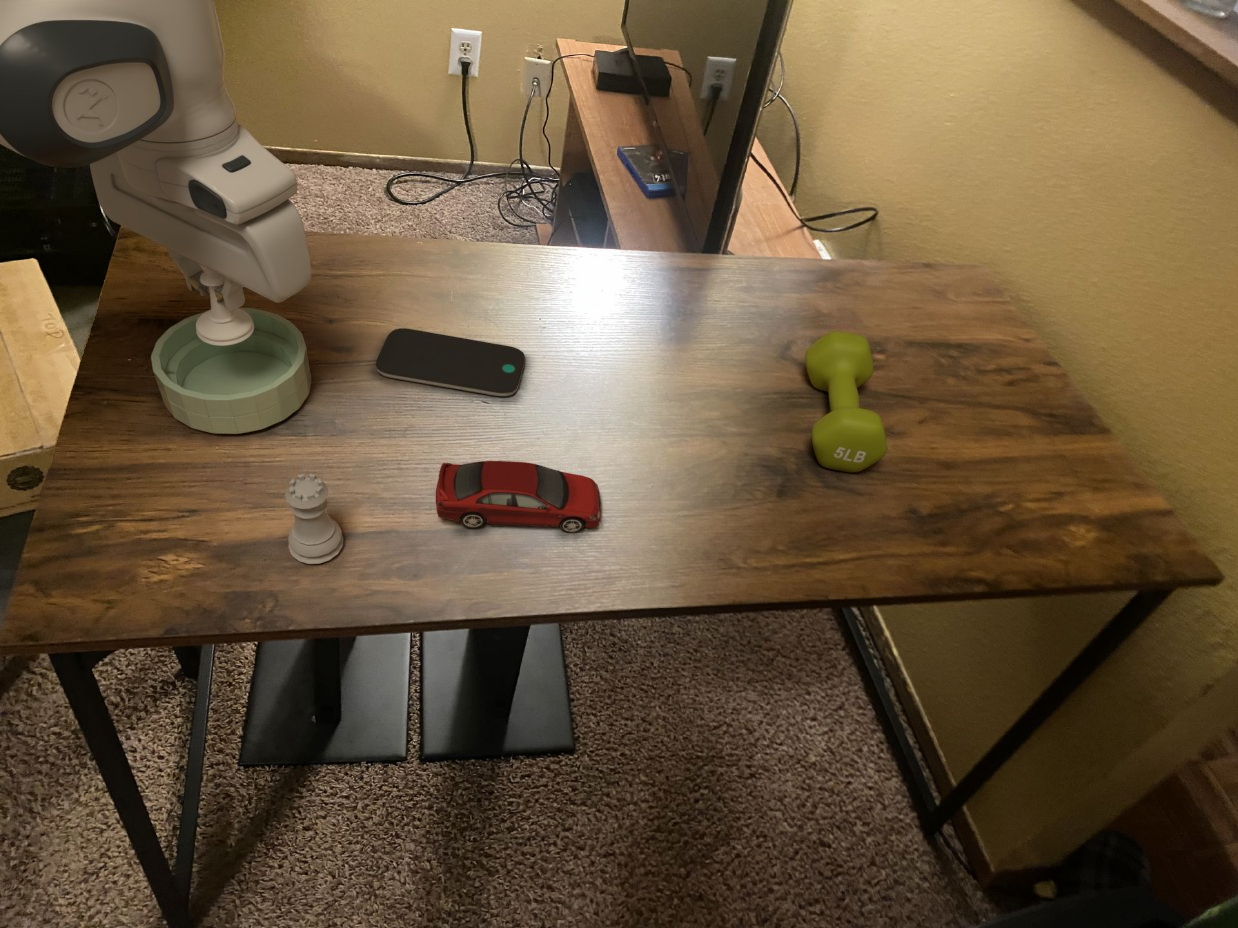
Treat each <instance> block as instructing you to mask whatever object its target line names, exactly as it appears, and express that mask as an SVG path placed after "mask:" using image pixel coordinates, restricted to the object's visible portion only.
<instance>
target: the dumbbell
mask: <svg viewBox="0 0 1238 928" xmlns="http://www.w3.org/2000/svg"><path fill="white" fill-rule="evenodd" d="M873 359H874V358H873V353H872V350H871V345H870V343H869V340H868V339H867V338H866V337H865V336H863V335H861V334H857V333H853V332H848V331H847V332H846V331H841V330H839V331H838V330H834V331H830V332H827V333H826V334H824V335H823V336H821V337H819V338H818V339H817V340H816V341H815V342H814V343H812V344H810V346H808V348H807V349H806V350H805V353H804V362H805V363H804V364H805V368H806V372H807V376H808V379H809V381H810V383H811V385H812V386H813V388H815V389H817V390H819V391H823V392H827V393H828V402H829V409H830V411H829V413H827V414H825V415H824V416H823V417H821V418H820V419H819V420H817V422H815V423H814V424H813V426H812V428H811V432H810V433H811V444H812V448H813V451H814V454H815V457H816V460H817V462H818V464H819V465H820V466H821V467H823V468H826V469H829V470H833V471H834V470H835V471H839V472H846V473H859V472H862V471H864V470H865V469H867V468H869V467H871V466H872V465H874V464H876V463H877V462H879V461H880V460H881V459H883V458H884V457H885V456H886V454H887V453H888V441H887V434H886V430H885V426H884V423H883V420H882V417H881V415H879V414H878V413H877V412H875V411H873V410H870V409H866V408H861V407H860V396H859V391H858V389H859V388H860V387H861V386H862V385H863V384H865V383H866V382H868V381H869V380H870V379H871V378H872V377H873V375H874V371H875V368H874V360H873Z"/></svg>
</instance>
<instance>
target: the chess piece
mask: <svg viewBox="0 0 1238 928" xmlns="http://www.w3.org/2000/svg"><path fill="white" fill-rule="evenodd" d="M199 265H200V264H199ZM200 266H201V268H202V270H203V271H204V273H202V274H201V276H200V282H201V283H202V284H203V285H206V286H209V291H210V292H209V298H210V309H208V310H206V311H207V312H206V311H204V312H205V313H204V314H202V315H201V316H200V317H199V318H198V320H197V322H196V333H197V335H198V337H199V338H200V339H201V340H202V341H204V342H206V343H208V344H212V345H218V346H226V345H233V344H237V343H239V342H242V341H244V340H245V339H247V338H248V337H249V336H250V335H251V334H252V333H253V331H254V323H253V321H252V318H251V316H250V315H249V314H248V313H247V312H245V311H243V310H241V309H236V310H234V311H231V310H229V309H227V308H225V307H223V306H221V305H219V304H218V303H217V297H216V295H215V291H214V290H215V289H217V288H218V287H220V286H222V285H224V281H222V280H220V279H219V277H218V273H216V272H214V271H212V270H210V269H208V268H206V267H204V266H202V265H200Z"/></svg>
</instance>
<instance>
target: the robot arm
mask: <svg viewBox="0 0 1238 928" xmlns="http://www.w3.org/2000/svg"><path fill="white" fill-rule="evenodd" d="M217 12H218V11H217V9H216V4H215V1H214V0H0V145H1V146H3V147H5V148H7V149H9V150H10V151H13V152H15V153H16V154H18V155H19V156H22V157H25V158H27V159H29V160H31V161H33V162H36V163H37V164H41V165H45V166H49V167H52V168H53V167H54V168H62V169H68V168H69V169H72V168H79V167H84V166H88V165H89V168H90V169H89V170H90V173H91V178H92V182H93V186H94V190H95V194H96V197H97V198H96V199H97V201H98V204H99V206H100V208H101V210H102V211H103V213H104V214H105V215H106V217H107V218H108V219H109V221H112V222H113V223H115V224H117V225H118V226H121V227H123V228H126V229H127V230H129V231H130V232H133V233H135V234H137V235H140V236H141V237H143V238H145V239H148V240H149V241H151V242H153V243H156V244H158V245H159V246H161V247H163V248H166V251H167V254H168V256H169V257H170V259H171V260H172V261H173V263H174V264H175V265H176V266H177V268H178V269H179V271H180V272H181V274H182V275H183V277H184V280H185V283H186V287H187V289H188V290H189V291H191V292H194V293H196V294H198V295H199V296H203V297H204V296H207V295H208V293H210V291H209V286H206V285H203V284H202V283H201V282H200V276H201V274H202V273H204V271H203V270H202V268H201V266H200V265H202V266H204V267H206V268H208V269H210V270H212V271H214V272H216V273H218V277H219V279H220V280H222V281H224V283H223V284H222V285H221V286H220V287H218V288H217V289H215V290H214V291H215V295H216V297H217V303H218V304H219V305H221V306H223V307H225V308H227V309H229V310H231V311H234V310H236V309H238V308H242V307H243V306H244V304H245V302H246V298H245V297H246V296H245V293H244V292H245V291H244V288H246V289H247V290H250V291H252V292H254V293H256V294H258V295H260V296H262V297H264V298H266V299H268V300H270V301H272V302H274V303H282V302H285V301H286V300H288V299H289V298H291V297H292V296H293V297H294V295H296V294H297V293H299V292H301V291H302V290H303V289H304V288H305V287H306V286H307V285H308V284H309V282H310V281H311V278H312V265H311V257H310V251H309V250H310V249H309V246H308V240H307V239H308V238H307V234H306V229H305V225H304V222H303V219H302V216H301V213H300V212H299V210H298V208H297V207H296V206H295V204H294V203H293V202H292V200H290V199H291V198H293V197H294V196H295V195H296V194H297V193H298V182H297V178H296V175H295V173H294V172H293V170H292V169H291V168H290V167H289V166H287V165H286V164H285V163H284V162H282V161H281V160H280V159H279V158H277V157H276V156H274V154H272V153H271V152H270V151H269V150H268V149H267V148H266V147H264V146H263V145H262V144H261V143H260V142H259V141H258V140H257V139H256V138H255V137H254V136H253V134H251V133H250V131H248V129H247V128H245V126H243V125H241V124H239V121H238V117H237V110H236V106H235V103H234V101H233V99H232V98H231V97H232V96H231V95H230V94H229V91H228V89H227V86H226V83H225V75H224V74H225V73H224V72H225V66H226V65H225V64H226V54H225V53H226V52H225V46H224V42H223V37H222V30H221V27H220V21H219V17H218V13H217ZM199 264H200V265H199Z"/></svg>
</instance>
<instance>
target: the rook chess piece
mask: <svg viewBox="0 0 1238 928" xmlns="http://www.w3.org/2000/svg"><path fill="white" fill-rule="evenodd" d="M288 484H289V485H288V487H287V488H286V489H285V494H284V498H285V500H286V502H287V503H288V504H289V505H290V510H291V512H292V514H293V515H294V523H293V524H292V525H291V528H290V529H289V532H288V538H287V543H288V550H289V552H290V555H291V556H292V557H293V558H294V559H296V560H297V561H298V562H300V563H303V564H308V565H321V564H322V563H326V562H328V561H331V560H332V559H333V558H335V557H336V556H337V555H338V554H339V553H340V551H341V550H342V548H343V546H344V535H343V534H342V529H341V527H340V526H339V523H338V522H337V521H336V520H335V519H333V518H332V517H331V516H330V515H328V512H327V508H328V500H327V498H328V496H329V488H328V486H327V484H326V483H325V482H324V481H322V479H321V478H317V475H316V474H314V473H309V474H308V476H305V473H299V474H297V479H295V478H291V479H290V481H289V482H288Z"/></svg>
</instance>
